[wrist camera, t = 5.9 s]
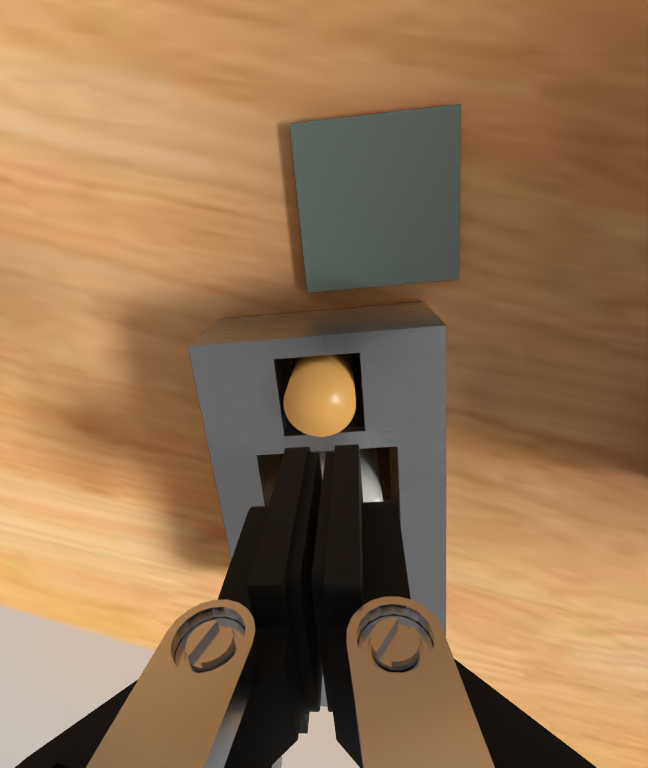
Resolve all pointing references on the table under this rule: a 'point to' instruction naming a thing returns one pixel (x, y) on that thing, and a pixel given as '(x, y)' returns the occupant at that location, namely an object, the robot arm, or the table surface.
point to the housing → (367, 428)
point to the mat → (379, 198)
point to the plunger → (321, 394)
